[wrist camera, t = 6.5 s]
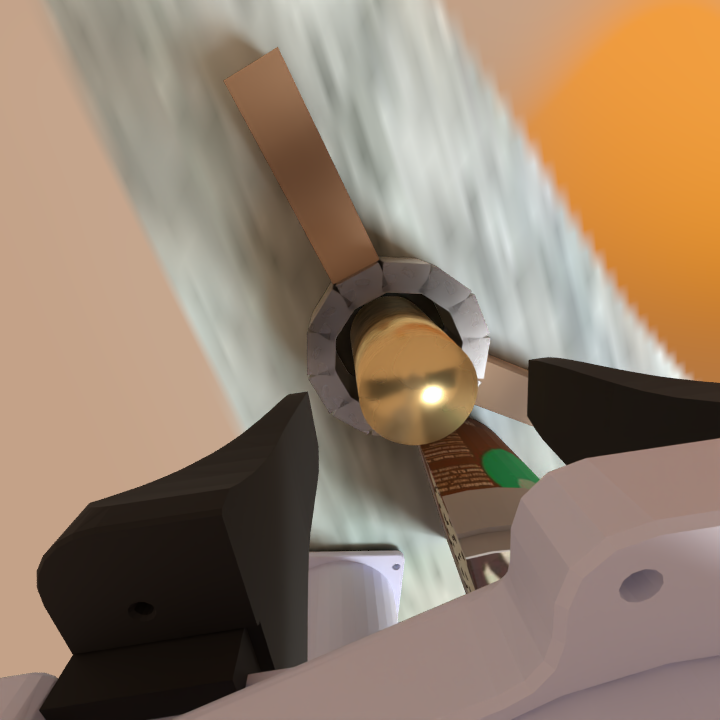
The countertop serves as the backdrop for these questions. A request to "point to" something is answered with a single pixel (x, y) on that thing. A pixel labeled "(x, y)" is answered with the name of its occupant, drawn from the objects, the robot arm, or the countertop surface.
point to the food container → (476, 498)
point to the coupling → (355, 252)
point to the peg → (409, 373)
